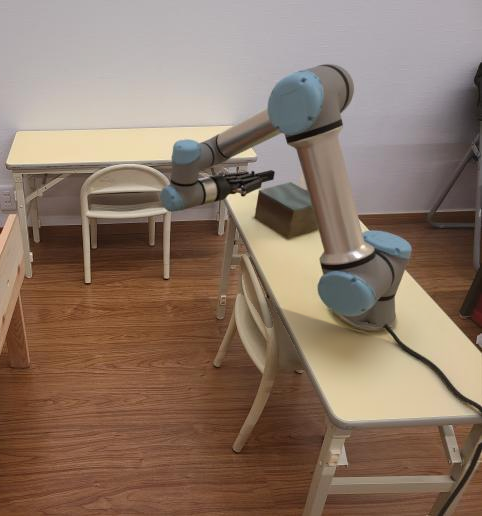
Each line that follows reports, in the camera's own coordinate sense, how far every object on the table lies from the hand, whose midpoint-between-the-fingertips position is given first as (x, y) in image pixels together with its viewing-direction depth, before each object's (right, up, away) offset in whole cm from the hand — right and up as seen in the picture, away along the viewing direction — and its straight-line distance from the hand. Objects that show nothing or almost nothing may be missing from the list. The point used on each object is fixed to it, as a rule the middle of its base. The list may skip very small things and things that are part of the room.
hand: (272, 174), depth 154 cm
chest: (+9, -14, +15) cm, 23 cm away
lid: (+9, -6, +10) cm, 15 cm away
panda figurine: (+20, -5, +29) cm, 36 cm away
